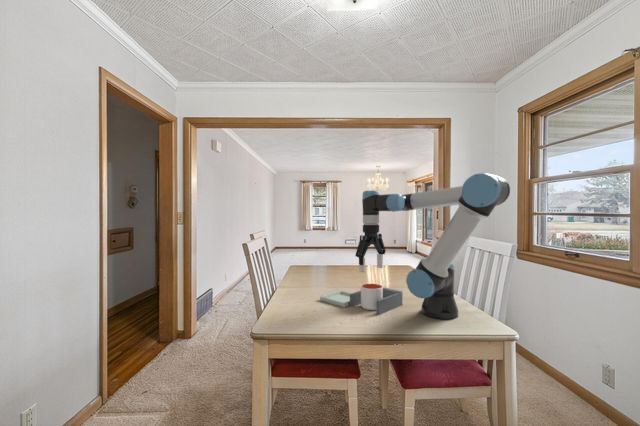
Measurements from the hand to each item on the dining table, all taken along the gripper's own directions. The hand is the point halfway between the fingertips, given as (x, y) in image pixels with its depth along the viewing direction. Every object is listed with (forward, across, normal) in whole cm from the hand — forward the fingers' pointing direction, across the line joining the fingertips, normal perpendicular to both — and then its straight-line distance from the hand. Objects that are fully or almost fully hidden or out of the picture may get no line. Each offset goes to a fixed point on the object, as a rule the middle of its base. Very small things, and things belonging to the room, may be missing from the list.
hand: (371, 270), depth 149 cm
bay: (+17, -4, 0) cm, 18 cm away
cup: (+18, 0, 0) cm, 18 cm away
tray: (+17, +1, -17) cm, 24 cm away
